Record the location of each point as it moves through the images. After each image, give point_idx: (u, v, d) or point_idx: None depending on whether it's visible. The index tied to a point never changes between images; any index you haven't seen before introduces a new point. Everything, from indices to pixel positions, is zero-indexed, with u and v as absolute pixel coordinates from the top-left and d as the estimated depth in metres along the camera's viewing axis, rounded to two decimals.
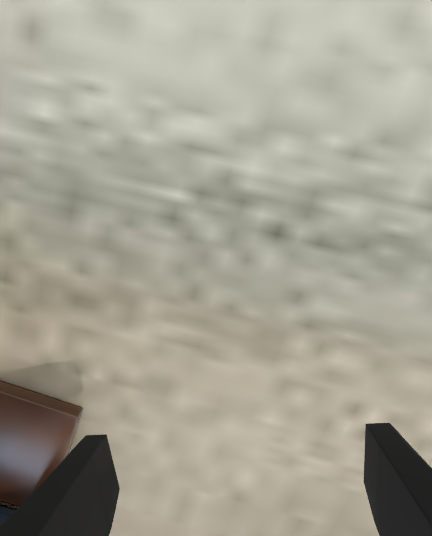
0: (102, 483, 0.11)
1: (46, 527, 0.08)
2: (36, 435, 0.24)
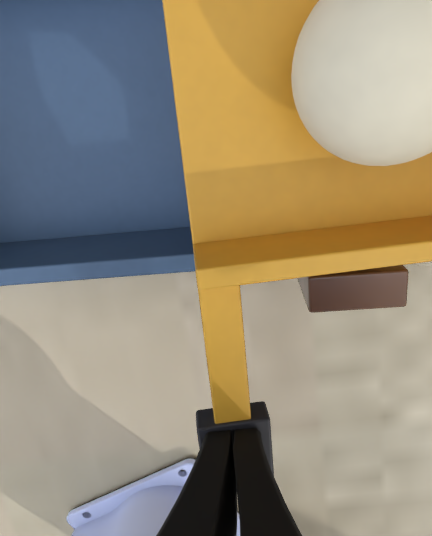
0: (232, 479, 0.10)
1: (216, 523, 0.08)
2: None
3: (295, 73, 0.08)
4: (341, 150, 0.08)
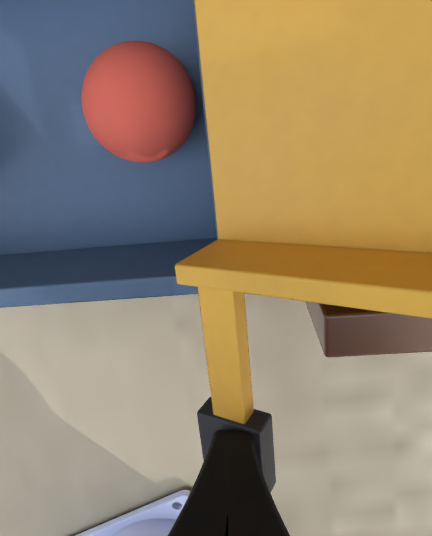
0: None
1: (226, 522, 0.08)
2: None
3: None
4: None
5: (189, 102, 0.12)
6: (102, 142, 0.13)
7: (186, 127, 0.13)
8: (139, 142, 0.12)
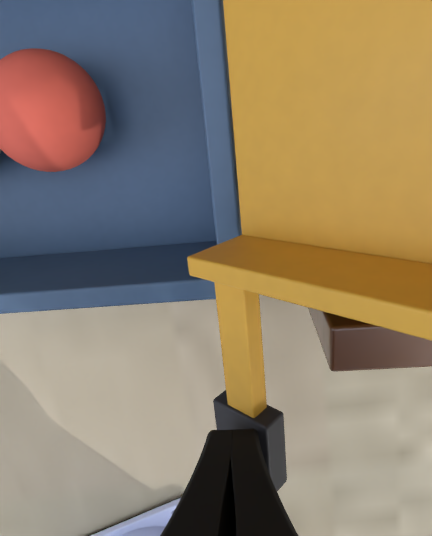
0: None
1: (219, 522, 0.08)
2: None
3: None
4: None
5: None
6: None
7: (7, 144, 0.12)
8: None
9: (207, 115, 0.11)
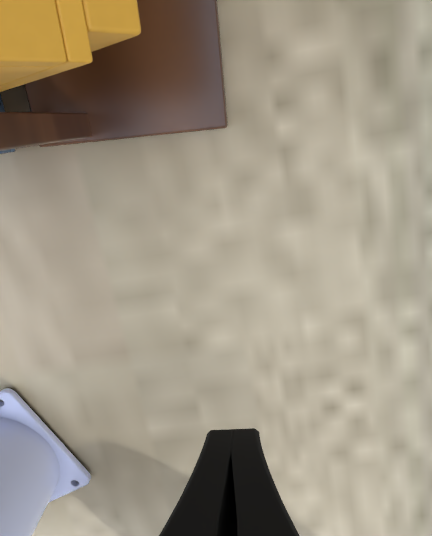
0: None
1: (218, 523, 0.08)
2: (168, 83, 0.17)
3: None
4: None
5: None
6: None
7: None
8: None
9: None
